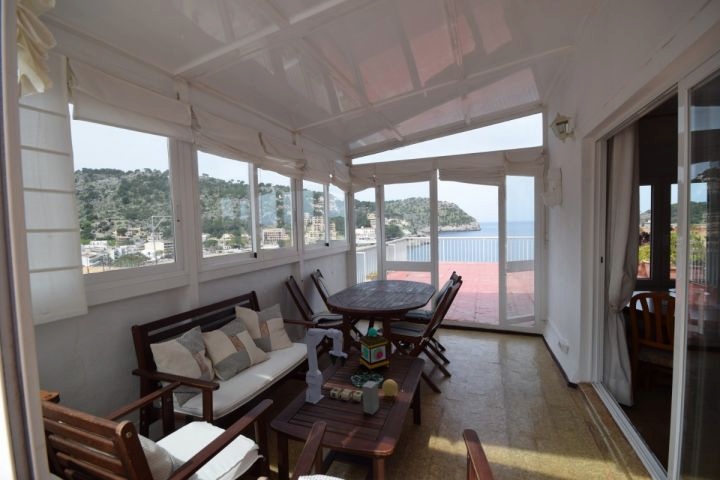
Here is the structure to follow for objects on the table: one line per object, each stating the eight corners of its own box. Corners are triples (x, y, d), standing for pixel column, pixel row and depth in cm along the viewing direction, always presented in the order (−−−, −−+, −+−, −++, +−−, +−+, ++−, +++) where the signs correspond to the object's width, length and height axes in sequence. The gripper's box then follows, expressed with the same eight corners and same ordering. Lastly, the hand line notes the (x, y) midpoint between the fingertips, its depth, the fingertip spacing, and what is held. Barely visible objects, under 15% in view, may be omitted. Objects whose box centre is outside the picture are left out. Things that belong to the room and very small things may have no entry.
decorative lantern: (356, 364, 247) (355, 326, 245) (378, 358, 256) (376, 321, 254) (369, 374, 229) (367, 334, 227) (392, 367, 239) (390, 329, 237)
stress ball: (390, 402, 196) (402, 390, 196) (379, 390, 196) (391, 378, 197) (389, 396, 206) (400, 385, 206) (378, 384, 206) (389, 373, 207)
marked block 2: (360, 402, 196) (360, 395, 196) (353, 400, 198) (352, 393, 198) (364, 397, 200) (363, 391, 200) (356, 396, 203) (356, 390, 202)
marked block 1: (337, 398, 200) (336, 392, 200) (330, 397, 203) (330, 391, 203) (341, 394, 205) (341, 388, 205) (335, 393, 207) (334, 387, 207)
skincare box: (373, 415, 182) (371, 388, 181) (362, 412, 185) (361, 386, 184) (379, 407, 189) (378, 382, 188) (369, 404, 193) (368, 379, 192)
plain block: (348, 400, 198) (347, 394, 198) (341, 398, 200) (341, 392, 200) (352, 396, 202) (351, 390, 202) (345, 394, 205) (345, 389, 204)
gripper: (349, 346, 223) (350, 365, 224) (332, 343, 231) (333, 361, 232) (343, 350, 217) (344, 369, 218) (326, 346, 225) (327, 365, 226)
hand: (338, 365), depth 224 cm, fingers open, 7 cm apart
